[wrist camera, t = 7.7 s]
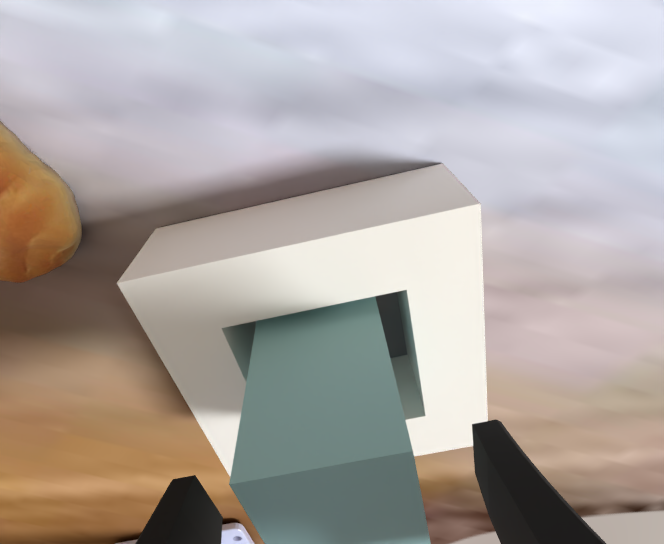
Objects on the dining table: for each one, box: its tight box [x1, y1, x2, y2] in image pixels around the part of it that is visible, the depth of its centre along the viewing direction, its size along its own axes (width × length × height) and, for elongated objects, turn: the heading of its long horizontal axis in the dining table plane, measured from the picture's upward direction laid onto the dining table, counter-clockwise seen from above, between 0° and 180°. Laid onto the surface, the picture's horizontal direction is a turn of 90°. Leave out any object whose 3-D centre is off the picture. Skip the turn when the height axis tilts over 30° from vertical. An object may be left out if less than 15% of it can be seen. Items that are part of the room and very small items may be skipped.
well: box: [117, 163, 488, 477], centre depth 15 cm, size 10×10×4 cm
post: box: [229, 296, 431, 544], centre depth 13 cm, size 4×4×8 cm
